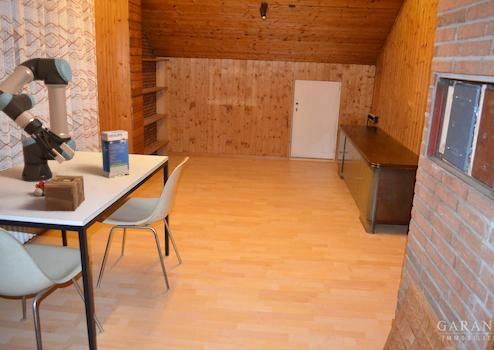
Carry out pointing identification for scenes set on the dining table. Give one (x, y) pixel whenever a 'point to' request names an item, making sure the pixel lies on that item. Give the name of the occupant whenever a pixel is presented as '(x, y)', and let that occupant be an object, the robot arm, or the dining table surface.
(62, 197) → the wooden box with opening
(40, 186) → the multicolored rounded segment toy
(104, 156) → the string lights box
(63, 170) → the dining table surface
